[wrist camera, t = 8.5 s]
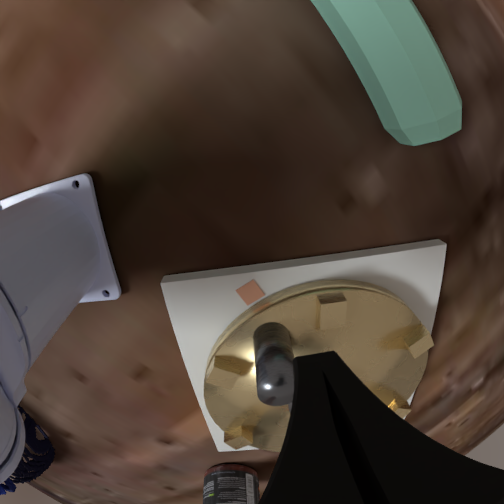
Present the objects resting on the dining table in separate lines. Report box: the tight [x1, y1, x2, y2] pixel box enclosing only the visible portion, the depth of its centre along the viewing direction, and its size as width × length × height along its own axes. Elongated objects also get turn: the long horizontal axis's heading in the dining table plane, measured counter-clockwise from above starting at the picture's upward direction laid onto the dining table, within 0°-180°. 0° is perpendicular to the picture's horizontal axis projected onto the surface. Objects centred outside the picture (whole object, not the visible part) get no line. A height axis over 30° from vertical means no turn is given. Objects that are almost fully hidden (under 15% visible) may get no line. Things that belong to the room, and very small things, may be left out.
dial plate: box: [160, 239, 447, 452], centre depth 21 cm, size 18×18×1 cm
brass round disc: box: [204, 279, 434, 452], centre depth 18 cm, size 16×16×6 cm
